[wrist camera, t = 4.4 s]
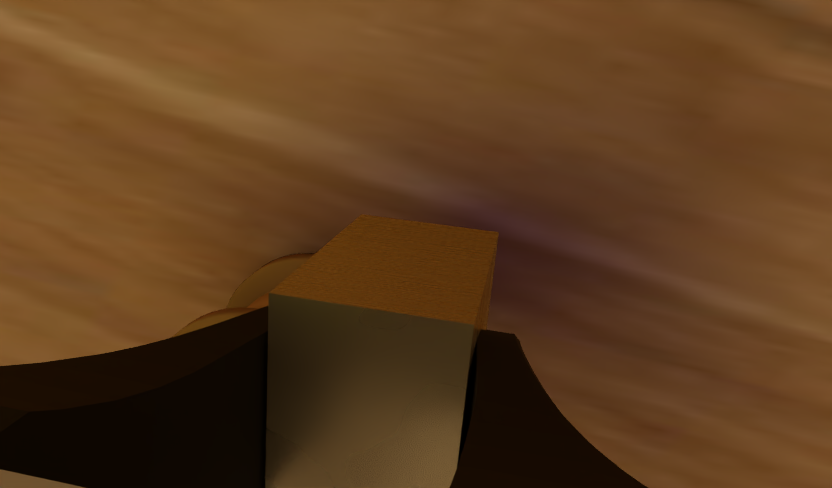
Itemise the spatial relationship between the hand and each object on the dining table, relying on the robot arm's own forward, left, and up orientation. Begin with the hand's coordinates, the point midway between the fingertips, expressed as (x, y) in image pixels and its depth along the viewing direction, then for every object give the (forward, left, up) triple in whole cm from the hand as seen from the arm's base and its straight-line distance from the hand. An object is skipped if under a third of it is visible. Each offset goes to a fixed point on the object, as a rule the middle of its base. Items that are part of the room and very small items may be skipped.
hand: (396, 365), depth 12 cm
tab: (0, 0, -3) cm, 3 cm away
